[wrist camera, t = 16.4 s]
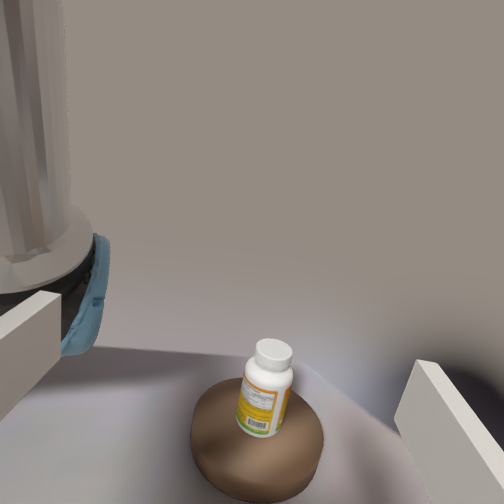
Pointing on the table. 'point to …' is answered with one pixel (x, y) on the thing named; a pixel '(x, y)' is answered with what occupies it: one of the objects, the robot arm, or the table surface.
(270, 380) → the supplement bottle
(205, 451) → the walnut base
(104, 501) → the table surface
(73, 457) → the table surface
